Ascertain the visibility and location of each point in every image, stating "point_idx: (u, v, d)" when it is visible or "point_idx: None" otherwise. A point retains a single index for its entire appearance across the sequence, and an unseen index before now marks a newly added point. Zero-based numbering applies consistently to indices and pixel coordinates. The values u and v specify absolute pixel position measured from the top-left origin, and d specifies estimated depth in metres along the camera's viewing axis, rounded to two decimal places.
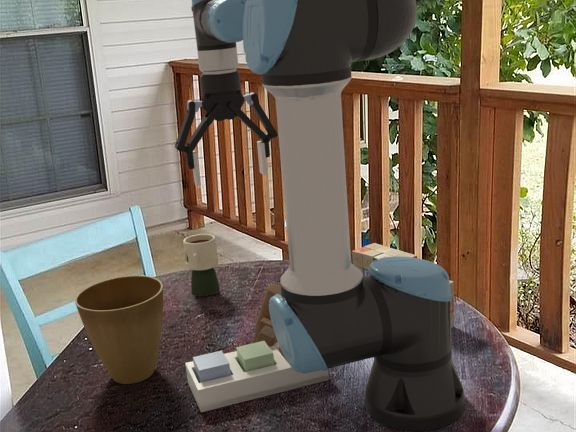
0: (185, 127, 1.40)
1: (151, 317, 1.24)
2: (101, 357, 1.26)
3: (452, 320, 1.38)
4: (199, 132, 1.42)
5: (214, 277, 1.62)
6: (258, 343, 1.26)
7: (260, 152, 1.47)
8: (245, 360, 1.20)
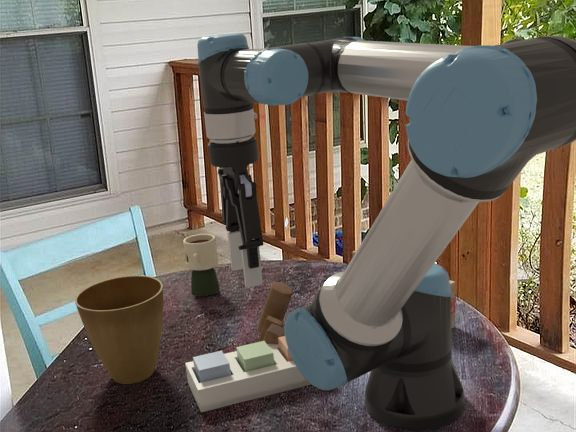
0: (221, 198, 1.22)
1: (151, 317, 1.24)
2: (101, 357, 1.26)
3: (453, 320, 1.38)
4: (226, 208, 1.19)
5: (214, 277, 1.62)
6: (258, 343, 1.26)
7: None
8: (245, 360, 1.20)
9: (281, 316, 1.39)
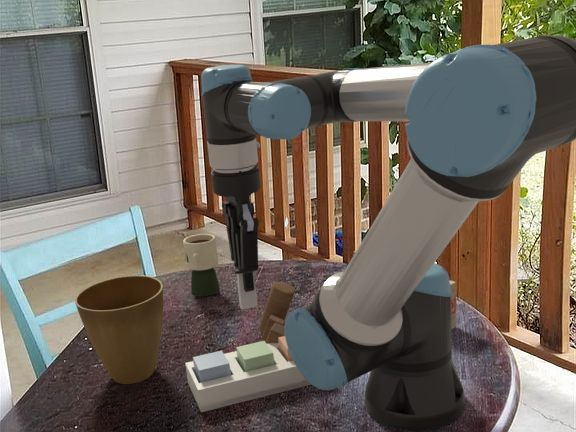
0: (227, 233, 1.21)
1: (151, 317, 1.24)
2: (101, 357, 1.26)
3: (454, 320, 1.38)
4: (232, 241, 1.19)
5: (214, 277, 1.62)
6: (258, 343, 1.26)
7: None
8: (245, 360, 1.20)
9: (283, 315, 1.39)
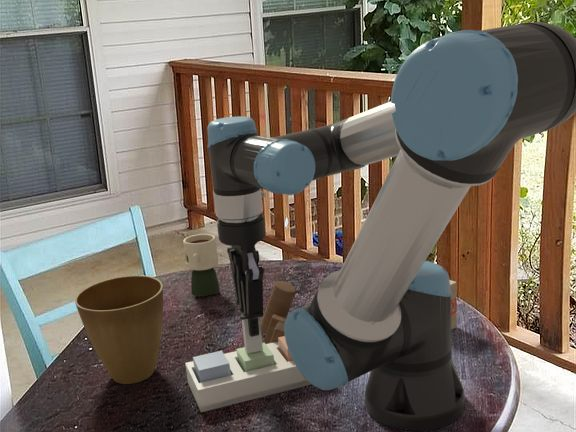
0: (233, 277, 1.24)
1: (151, 317, 1.24)
2: (101, 357, 1.26)
3: (455, 320, 1.38)
4: (237, 287, 1.21)
5: (214, 277, 1.62)
6: None
7: None
8: (245, 362, 1.20)
9: (284, 314, 1.39)
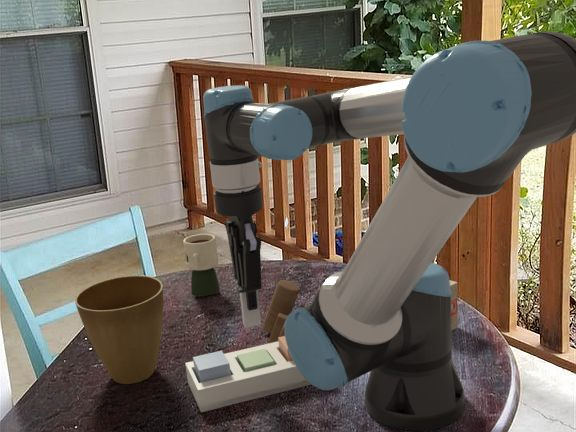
0: (230, 251, 1.22)
1: (151, 317, 1.24)
2: (101, 357, 1.26)
3: (456, 321, 1.38)
4: (235, 260, 1.20)
5: (214, 277, 1.62)
6: (259, 351, 1.26)
7: None
8: (246, 368, 1.21)
9: (288, 313, 1.40)
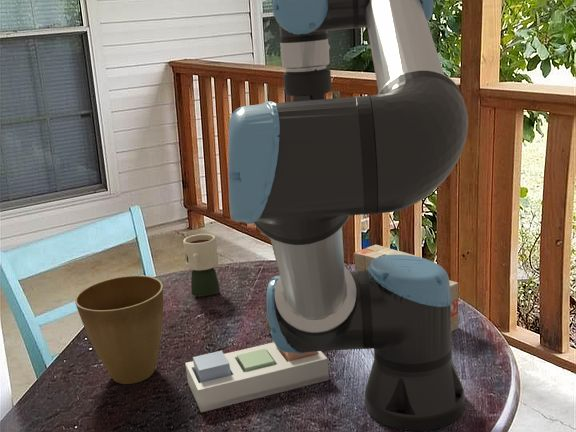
0: None
1: (151, 317, 1.24)
2: (101, 357, 1.26)
3: (456, 321, 1.37)
4: None
5: (214, 277, 1.62)
6: (259, 351, 1.26)
7: None
8: (246, 368, 1.21)
9: None
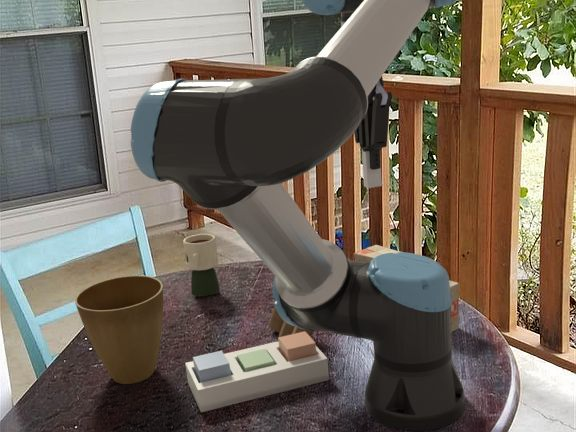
0: None
1: (151, 317, 1.24)
2: (101, 357, 1.26)
3: (457, 322, 1.37)
4: None
5: (214, 277, 1.62)
6: (259, 351, 1.26)
7: None
8: (246, 368, 1.21)
9: None
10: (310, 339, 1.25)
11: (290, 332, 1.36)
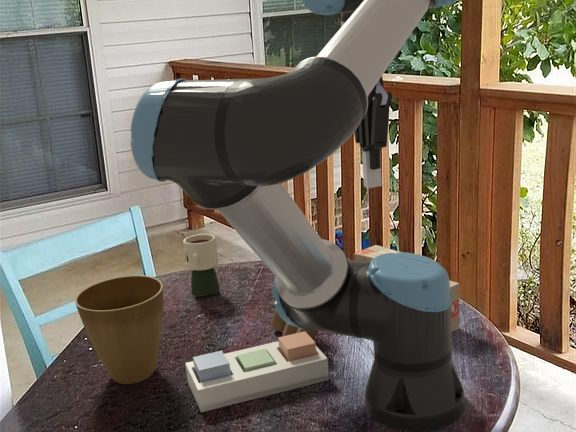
0: None
1: (151, 317, 1.24)
2: (101, 357, 1.26)
3: (457, 322, 1.37)
4: (359, 122, 1.25)
5: (214, 277, 1.62)
6: (259, 351, 1.26)
7: None
8: (246, 368, 1.21)
9: None
10: (310, 339, 1.25)
11: (294, 331, 1.36)
